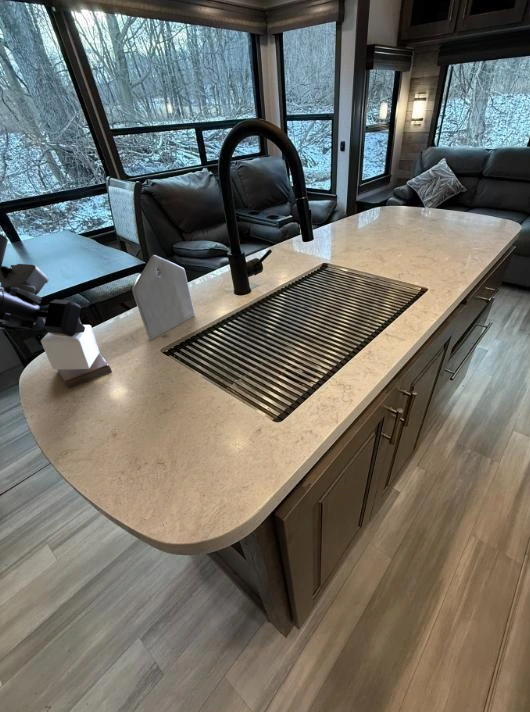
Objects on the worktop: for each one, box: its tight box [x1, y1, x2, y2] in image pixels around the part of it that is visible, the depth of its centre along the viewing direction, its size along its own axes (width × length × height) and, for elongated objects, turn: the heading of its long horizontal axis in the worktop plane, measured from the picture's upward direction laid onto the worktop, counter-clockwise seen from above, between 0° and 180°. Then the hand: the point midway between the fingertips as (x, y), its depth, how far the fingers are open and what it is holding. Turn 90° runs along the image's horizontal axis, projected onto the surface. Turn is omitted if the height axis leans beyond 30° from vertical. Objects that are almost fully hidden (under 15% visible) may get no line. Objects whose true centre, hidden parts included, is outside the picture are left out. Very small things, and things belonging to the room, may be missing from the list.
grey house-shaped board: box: [131, 254, 196, 341], centre depth 87 cm, size 16×8×19 cm, turn 149°
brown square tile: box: [57, 352, 113, 390], centre depth 75 cm, size 9×9×2 cm
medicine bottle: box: [40, 317, 100, 371], centre depth 70 cm, size 7×7×12 cm
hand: (68, 328), depth 70 cm, fingers closed on medicine bottle, 7 cm apart
